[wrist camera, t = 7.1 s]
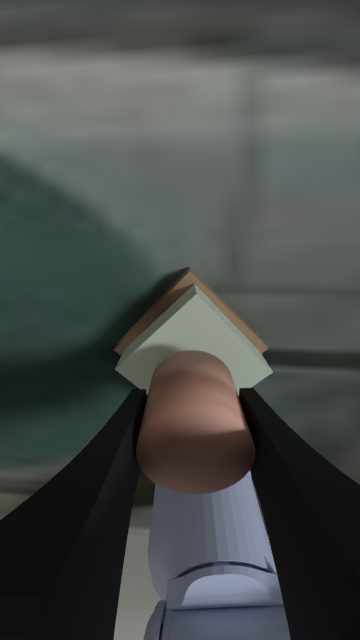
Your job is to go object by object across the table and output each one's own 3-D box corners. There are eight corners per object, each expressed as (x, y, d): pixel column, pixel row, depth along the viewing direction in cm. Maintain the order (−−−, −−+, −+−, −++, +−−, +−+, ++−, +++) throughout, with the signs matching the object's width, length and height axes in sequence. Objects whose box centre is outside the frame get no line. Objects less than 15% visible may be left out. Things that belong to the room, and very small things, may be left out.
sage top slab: (190, 403, 18) (191, 429, 15) (124, 349, 16) (114, 369, 14) (259, 351, 16) (272, 372, 13) (194, 283, 14) (196, 293, 12)
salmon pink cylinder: (192, 428, 13) (195, 507, 9) (134, 386, 12) (111, 456, 8) (249, 384, 12) (280, 456, 8) (191, 333, 11) (194, 388, 7)
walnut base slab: (190, 389, 20) (191, 409, 18) (122, 335, 18) (113, 350, 16) (257, 333, 18) (268, 348, 16) (188, 265, 16) (189, 270, 14)
